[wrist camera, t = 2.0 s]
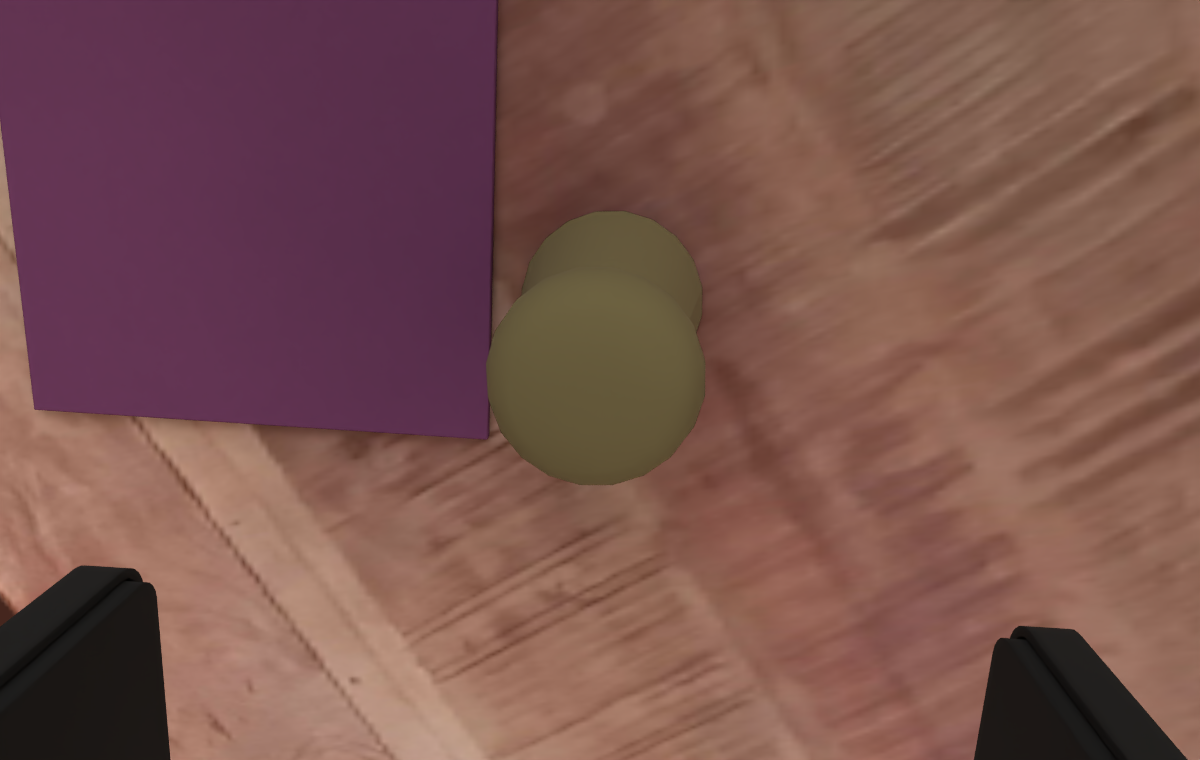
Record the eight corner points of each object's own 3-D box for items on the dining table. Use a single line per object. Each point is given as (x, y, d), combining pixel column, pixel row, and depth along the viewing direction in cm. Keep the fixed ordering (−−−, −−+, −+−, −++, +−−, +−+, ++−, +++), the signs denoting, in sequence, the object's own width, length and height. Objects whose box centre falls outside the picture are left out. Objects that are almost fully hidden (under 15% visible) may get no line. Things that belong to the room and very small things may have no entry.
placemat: (-34, -237, 28) (-44, -242, 28) (502, -215, 27) (500, -219, 27) (40, 406, 33) (33, 409, 33) (489, 436, 33) (487, 440, 32)
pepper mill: (512, 375, 32) (443, 503, 22) (532, 197, 30) (469, 241, 20) (687, 401, 32) (704, 542, 21) (717, 224, 30) (752, 282, 20)
